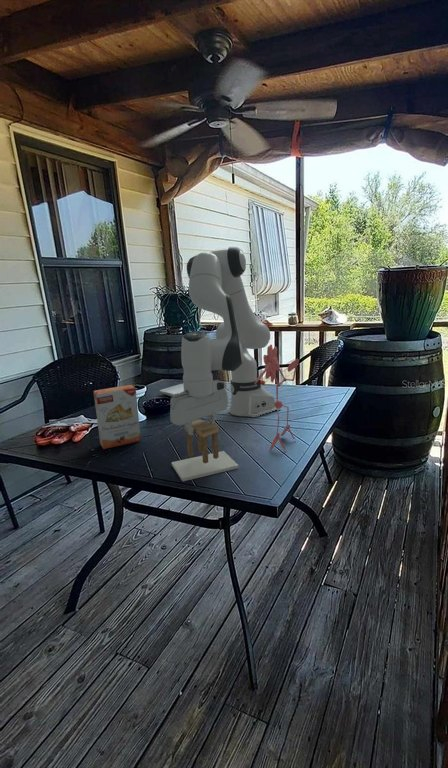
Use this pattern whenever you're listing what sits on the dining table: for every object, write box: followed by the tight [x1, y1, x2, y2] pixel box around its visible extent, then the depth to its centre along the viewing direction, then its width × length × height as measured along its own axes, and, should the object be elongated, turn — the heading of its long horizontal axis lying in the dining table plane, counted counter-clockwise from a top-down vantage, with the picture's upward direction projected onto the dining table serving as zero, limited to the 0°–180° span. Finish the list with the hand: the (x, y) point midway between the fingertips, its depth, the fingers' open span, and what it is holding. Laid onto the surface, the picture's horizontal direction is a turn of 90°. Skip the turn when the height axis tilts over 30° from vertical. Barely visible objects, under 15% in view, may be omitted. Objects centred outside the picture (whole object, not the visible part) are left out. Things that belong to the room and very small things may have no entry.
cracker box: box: [93, 384, 141, 450], centre depth 146 cm, size 14×6×21 cm, turn 117°
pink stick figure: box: [250, 344, 300, 451], centre depth 137 cm, size 15×26×35 cm, turn 150°
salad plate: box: [159, 383, 184, 398], centre depth 207 cm, size 21×21×3 cm
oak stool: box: [183, 418, 219, 463], centre depth 125 cm, size 9×6×10 cm, turn 43°
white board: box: [171, 450, 239, 482], centre depth 127 cm, size 18×12×1 cm, turn 112°
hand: (201, 430), depth 124 cm, fingers closed on oak stool, 6 cm apart
